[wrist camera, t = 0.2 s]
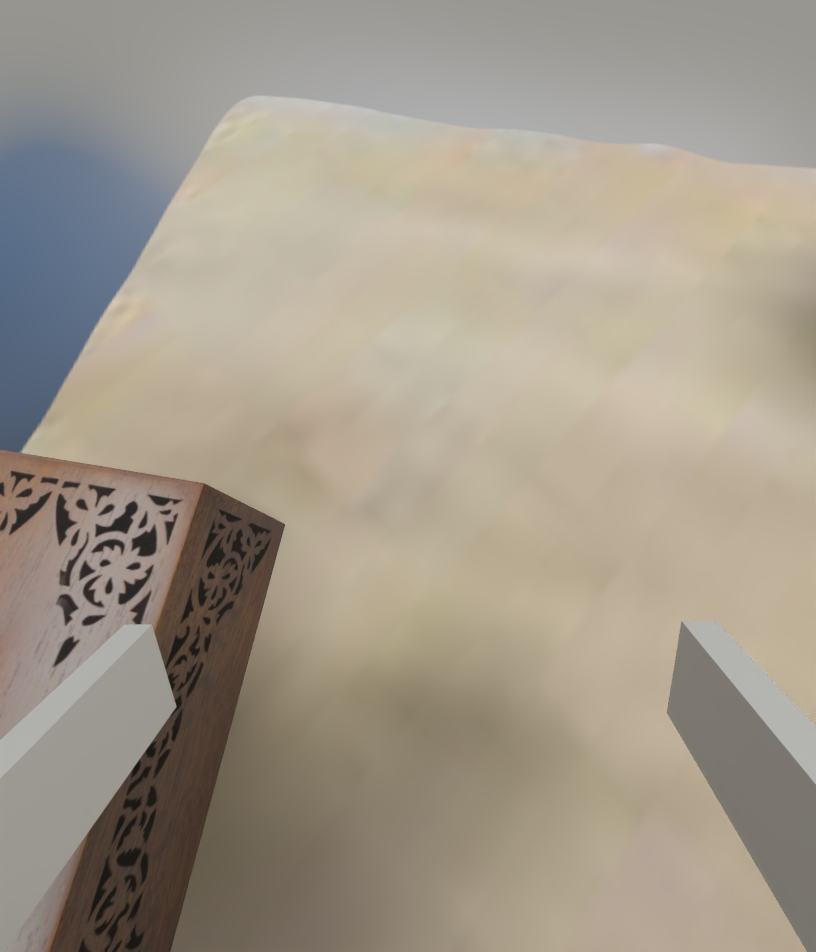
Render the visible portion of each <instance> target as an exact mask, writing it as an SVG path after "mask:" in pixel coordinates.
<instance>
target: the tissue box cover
mask: <svg viewBox="0 0 816 952" xmlns="http://www.w3.org/2000/svg"><path fill="white" fill-rule="evenodd" d="M284 526H285V524H283V523H281V522H279V521H277V520H275V519H273V518H271V517H269V516H268V515H266V514H264V513H262V512H260V511H258V510H256V509H254V508H252V507H250V506H248V505H246V504H244V503H242V502H240V501H238V500H236V499H234V498H232V497H230V496H228V495H226V494H224V493H222V492H220V491H218V490H216V489H214V488H212V487H210V486H208V485H206V484H204V483H199V482H192V481H186V480H180V479H174V478H168V477H162V476H156V475H150V474H144V473H138V472H132V471H126V470H120V469H114V468H108V467H102V466H96V465H90V464H84V463H78V462H72V461H66V460H60V459H54V458H48V457H42V456H36V455H30V454H23V453H17V452H11V451H5V450H0V740H1V739H2V738H3V737H4V736H5V735H6V734H7V733H8V732H9V731H11V730H12V729H13V728H14V727H15V726H16V725H17V724H18V723H19V722H20V721H21V720H22V719H23V718H25V717H26V716H27V715H28V714H29V713H30V712H31V711H32V710H33V709H34V708H35V707H36V706H37V705H39V704H40V703H41V702H42V701H43V700H44V699H45V698H46V697H47V696H48V695H49V694H50V693H51V692H52V691H54V690H55V689H56V688H57V687H58V686H59V685H60V684H61V683H62V682H63V681H64V680H65V679H66V678H68V677H69V676H70V675H71V674H72V673H73V672H74V671H75V670H76V669H77V668H78V667H79V666H80V665H82V664H83V663H84V662H85V661H86V660H87V659H88V658H89V657H90V656H91V655H92V654H93V653H94V652H96V651H97V650H98V649H99V648H100V647H101V646H102V645H103V644H104V643H105V642H106V641H107V640H108V639H110V638H111V637H112V636H113V635H114V634H115V633H116V632H117V631H118V630H119V629H120V628H121V627H122V626H124V625H138V624H152V626H153V630H154V633H155V636H156V640H157V643H158V646H159V650H160V653H161V656H162V660H163V663H164V666H165V670H166V673H167V676H168V680H169V683H170V686H171V690H172V693H173V696H174V700H175V703H176V706H177V707H176V708H175V710H174V711H173V712H172V714H171V715H170V717H169V718H168V720H167V721H166V722H165V724H164V725H163V727H162V728H161V730H160V731H159V732H158V734H157V735H156V737H155V738H154V739H153V741H152V742H151V744H150V745H149V747H148V748H147V749H146V751H145V752H144V754H143V755H142V757H141V758H140V759H139V761H138V762H137V764H136V765H135V766H134V768H133V769H132V771H131V772H130V774H129V775H128V776H127V778H126V779H125V781H124V782H123V784H122V785H121V786H120V788H119V789H118V791H117V792H116V793H115V795H114V796H113V798H112V799H111V801H110V802H109V803H108V805H107V806H106V808H105V809H104V811H103V812H102V813H101V815H100V816H99V818H98V819H97V820H96V822H95V823H94V825H93V826H92V828H91V829H90V830H89V832H88V833H87V835H86V836H85V838H84V839H83V840H82V842H81V843H80V845H79V846H78V847H77V849H76V850H75V852H74V853H73V855H72V856H71V857H70V859H69V860H68V862H67V863H66V865H65V866H64V867H63V869H62V870H61V872H60V873H59V874H58V876H57V877H56V879H55V880H54V882H53V883H52V884H51V886H50V887H49V889H48V890H47V892H46V893H45V894H44V896H43V897H42V899H41V900H40V901H39V903H38V904H37V906H36V907H35V909H34V910H33V911H32V913H31V914H30V916H29V917H28V919H27V920H26V921H25V923H24V924H23V926H22V927H21V928H20V930H19V931H18V933H17V934H16V936H15V937H14V938H13V940H12V941H11V943H10V944H9V946H8V947H7V948H6V950H5V951H4V952H170V950H171V946H172V943H173V939H174V935H175V931H176V928H177V924H178V920H179V917H180V913H181V909H182V905H183V902H184V898H185V894H186V891H187V887H188V883H189V879H190V876H191V872H192V868H193V865H194V861H195V857H196V853H197V850H198V846H199V842H200V838H201V835H202V831H203V827H204V824H205V820H206V816H207V812H208V809H209V805H210V801H211V798H212V794H213V790H214V786H215V783H216V779H217V775H218V772H219V768H220V764H221V760H222V757H223V753H224V749H225V746H226V742H227V738H228V734H229V731H230V727H231V723H232V720H233V716H234V712H235V708H236V705H237V701H238V697H239V693H240V690H241V686H242V682H243V679H244V675H245V671H246V667H247V664H248V660H249V656H250V653H251V649H252V645H253V641H254V638H255V634H256V630H257V627H258V623H259V619H260V615H261V612H262V608H263V604H264V601H265V597H266V593H267V589H268V586H269V582H270V578H271V575H272V571H273V567H274V563H275V560H276V556H277V552H278V548H279V545H280V541H281V537H282V534H283V530H284Z"/></svg>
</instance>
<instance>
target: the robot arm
mask: <svg viewBox="0 0 816 952" xmlns="http://www.w3.org/2000/svg"><path fill="white" fill-rule="evenodd" d="M176 707H177V706H176V703H175V700H174V696H173V693H172V690H171V686H170V683H169V680H168V676H167V673H166V670H165V666H164V663H163V660H162V656H161V653H160V650H159V646H158V643H157V640H156V636H155V633H154V630H153V626H152V624H138V625H124V626H122V627H121V628H120V629H119V630H118V631H117V632H116V633H115V634H114V635H113V636H112V637H111V638H110V639H108V640H107V641H106V642H105V643H104V644H103V645H102V646H101V647H100V648H99V649H98V650H97V651H96V652H94V653H93V654H92V655H91V656H90V657H89V658H88V659H87V660H86V661H85V662H84V663H83V664H82V665H80V666H79V667H78V668H77V669H76V670H75V671H74V672H73V673H72V674H71V675H70V676H69V677H68V678H66V679H65V680H64V681H63V682H62V683H61V684H60V685H59V686H58V687H57V688H56V689H55V690H54V691H52V692H51V693H50V694H49V695H48V696H47V697H46V698H45V699H44V700H43V701H42V702H41V703H40V704H39V705H37V706H36V707H35V708H34V709H33V710H32V711H31V712H30V713H29V714H28V715H27V716H26V717H25V718H23V719H22V720H21V721H20V722H19V723H18V724H17V725H16V726H15V727H14V728H13V729H12V730H11V731H9V732H8V733H7V734H6V735H5V736H4V737H3V738H2V739H1V740H0V952H4V951H5V950H6V948H7V947H8V946H9V944H10V943H11V941H12V940H13V938H14V937H15V936H16V934H17V933H18V931H19V930H20V928H21V927H22V926H23V924H24V923H25V921H26V920H27V919H28V917H29V916H30V914H31V913H32V911H33V910H34V909H35V907H36V906H37V904H38V903H39V901H40V900H41V899H42V897H43V896H44V894H45V893H46V892H47V890H48V889H49V887H50V886H51V884H52V883H53V882H54V880H55V879H56V877H57V876H58V874H59V873H60V872H61V870H62V869H63V867H64V866H65V865H66V863H67V862H68V860H69V859H70V857H71V856H72V855H73V853H74V852H75V850H76V849H77V847H78V846H79V845H80V843H81V842H82V840H83V839H84V838H85V836H86V835H87V833H88V832H89V830H90V829H91V828H92V826H93V825H94V823H95V822H96V820H97V819H98V818H99V816H100V815H101V813H102V812H103V811H104V809H105V808H106V806H107V805H108V803H109V802H110V801H111V799H112V798H113V796H114V795H115V793H116V792H117V791H118V789H119V788H120V786H121V785H122V784H123V782H124V781H125V779H126V778H127V776H128V775H129V774H130V772H131V771H132V769H133V768H134V766H135V765H136V764H137V762H138V761H139V759H140V758H141V757H142V755H143V754H144V752H145V751H146V749H147V748H148V747H149V745H150V744H151V742H152V741H153V739H154V738H155V737H156V735H157V734H158V732H159V731H160V730H161V728H162V727H163V725H164V724H165V722H166V721H167V720H168V718H169V717H170V715H171V714H172V712H173V711H174V710H175V708H176ZM667 714H668V715H669V717H670V719H671V720H672V722H673V724H674V726H675V727H676V729H677V731H678V732H679V734H680V736H681V737H682V739H683V741H684V743H685V744H686V746H687V748H688V749H689V751H690V753H691V755H692V756H693V758H694V760H695V761H696V763H697V765H698V766H699V768H700V770H701V772H702V773H703V775H704V777H705V778H706V780H707V782H708V784H709V785H710V787H711V789H712V790H713V792H714V794H715V795H716V797H717V799H718V801H719V802H720V804H721V806H722V807H723V809H724V811H725V813H726V814H727V816H728V818H729V819H730V821H731V823H732V824H733V826H734V828H735V830H736V831H737V833H738V835H739V836H740V838H741V840H742V841H743V843H744V845H745V847H746V848H747V850H748V852H749V853H750V855H751V857H752V859H753V860H754V862H755V864H756V865H757V867H758V869H759V870H760V872H761V874H762V876H763V877H764V879H765V881H766V882H767V884H768V886H769V888H770V889H771V891H772V893H773V894H774V896H775V898H776V899H777V901H778V903H779V905H780V906H781V908H782V910H783V911H784V913H785V915H786V917H787V918H788V920H789V922H790V923H791V925H792V927H793V928H794V930H795V932H796V934H797V935H798V937H799V939H800V940H801V942H802V944H803V945H804V947H805V949H806V951H807V952H816V726H815V725H814V724H813V723H812V722H811V721H810V720H809V719H808V718H807V717H806V716H805V714H804V713H803V712H802V711H801V710H800V709H799V708H798V707H797V706H796V705H795V704H794V703H793V702H792V701H791V700H790V699H789V697H788V696H787V695H786V694H785V693H784V692H783V691H782V690H781V689H780V688H779V687H778V686H777V685H776V684H775V683H774V682H773V680H772V679H771V678H770V677H769V676H768V675H767V674H766V673H765V672H764V671H763V670H762V669H761V668H760V667H759V666H758V665H757V663H756V662H755V661H754V660H753V659H752V658H751V657H750V656H749V655H748V654H747V653H746V652H745V651H744V650H743V649H742V648H741V646H740V645H739V644H738V643H737V642H736V641H735V640H734V639H733V638H732V637H731V636H730V635H729V634H728V633H727V632H726V630H725V629H724V628H723V627H722V626H721V625H720V624H719V623H718V622H717V621H682V622H681V628H680V634H679V640H678V647H677V653H676V659H675V665H674V672H673V678H672V684H671V690H670V696H669V703H668V709H667Z"/></svg>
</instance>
